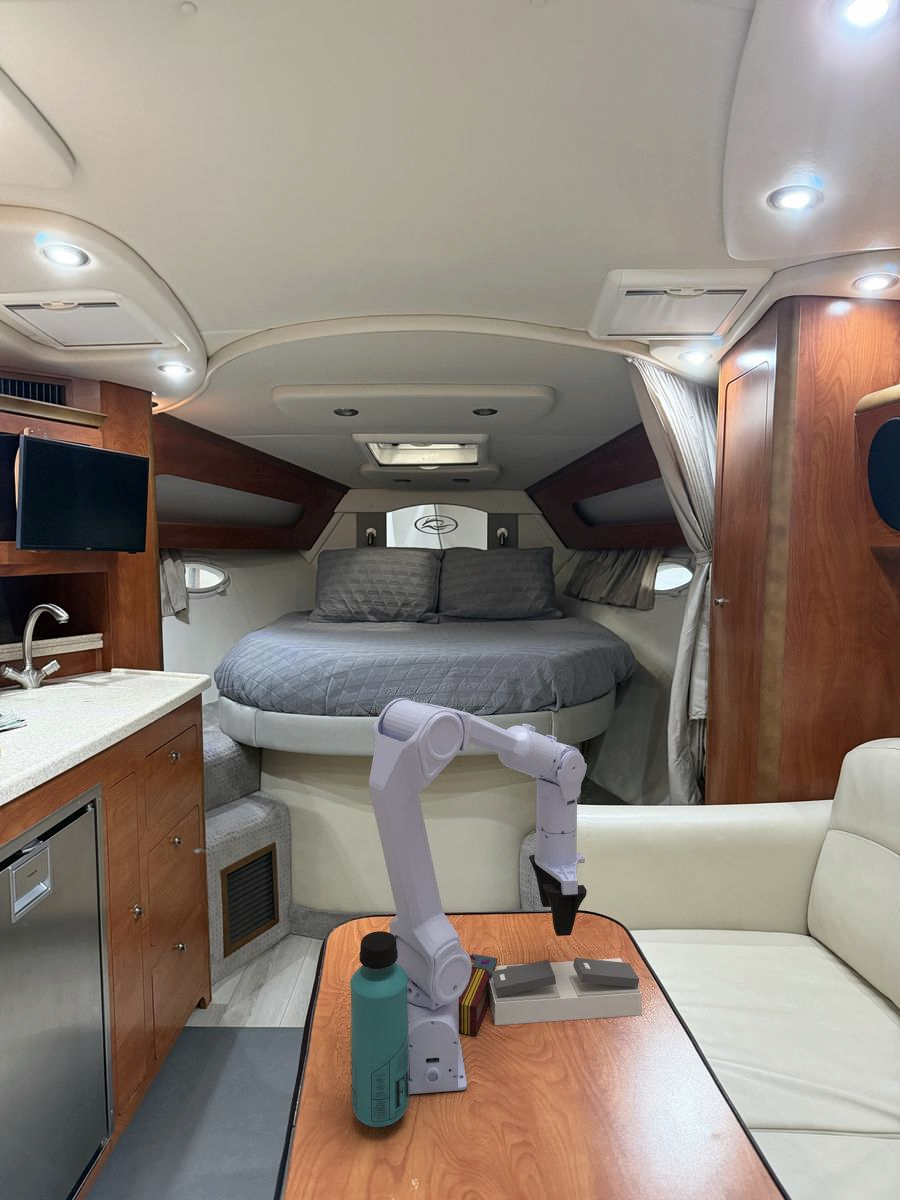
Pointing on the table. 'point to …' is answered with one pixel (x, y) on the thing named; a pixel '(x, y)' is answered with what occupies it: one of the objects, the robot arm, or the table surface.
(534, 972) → the rocker inboard
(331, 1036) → the table surface
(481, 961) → the decorative book
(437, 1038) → the robot arm
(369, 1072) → the beverage bottle
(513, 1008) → the base
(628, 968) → the rocker outer
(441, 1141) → the table surface
